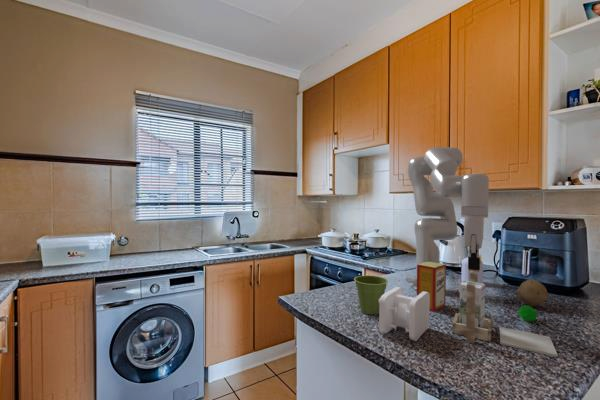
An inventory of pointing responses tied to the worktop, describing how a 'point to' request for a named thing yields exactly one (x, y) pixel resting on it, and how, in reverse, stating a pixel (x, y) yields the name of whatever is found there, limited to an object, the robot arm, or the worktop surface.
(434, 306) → the baking soda box
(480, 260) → the bar
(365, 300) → the plant pot
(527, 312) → the polyhedron
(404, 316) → the cable organizer
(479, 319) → the syrup box
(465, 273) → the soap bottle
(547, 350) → the mat
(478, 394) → the worktop surface
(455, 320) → the cradle
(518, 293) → the natural sponge
